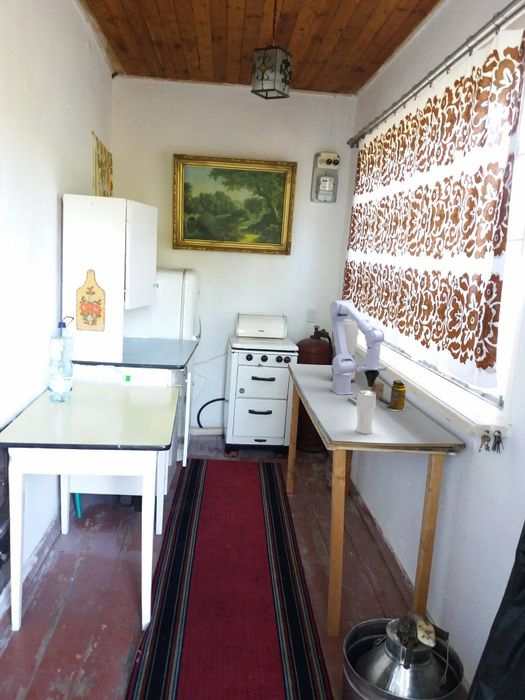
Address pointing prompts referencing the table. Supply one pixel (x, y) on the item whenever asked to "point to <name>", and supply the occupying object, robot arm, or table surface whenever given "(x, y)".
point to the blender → (348, 341)
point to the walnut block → (378, 389)
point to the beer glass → (365, 411)
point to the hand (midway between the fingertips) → (370, 386)
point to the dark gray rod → (384, 400)
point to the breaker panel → (353, 400)
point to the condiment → (397, 396)
